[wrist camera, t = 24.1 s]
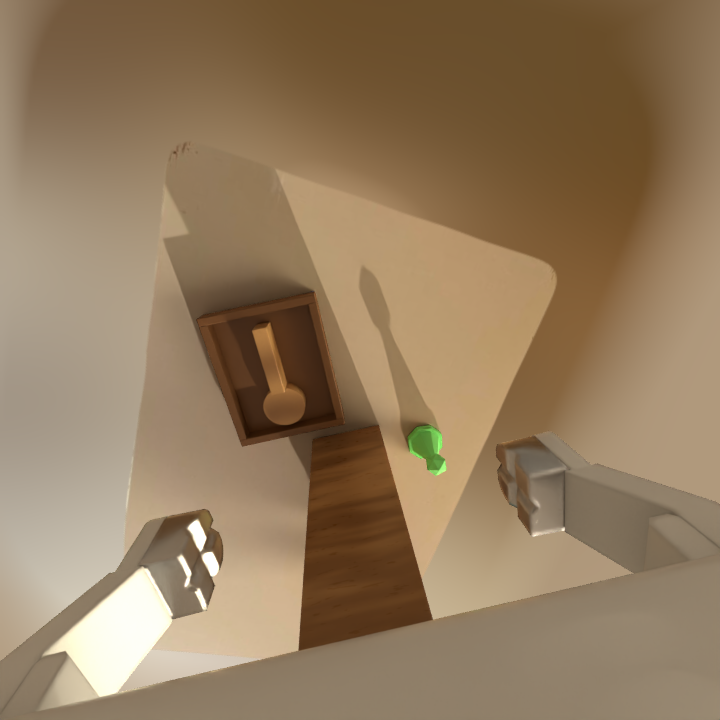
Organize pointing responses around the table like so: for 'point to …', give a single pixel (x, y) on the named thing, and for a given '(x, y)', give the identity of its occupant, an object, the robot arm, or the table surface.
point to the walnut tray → (298, 356)
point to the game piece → (427, 447)
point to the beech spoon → (277, 381)
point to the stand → (356, 545)
